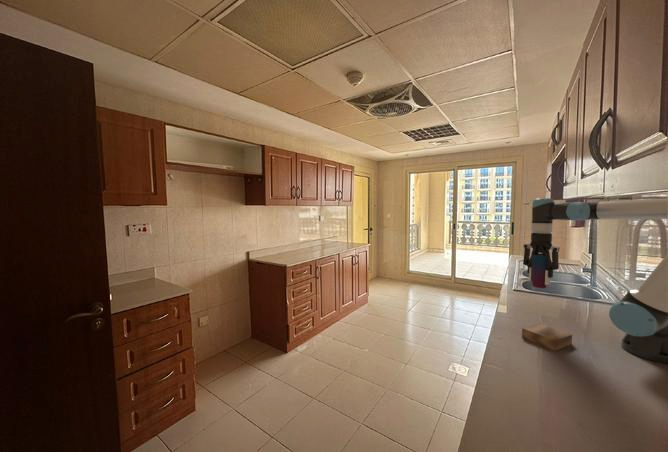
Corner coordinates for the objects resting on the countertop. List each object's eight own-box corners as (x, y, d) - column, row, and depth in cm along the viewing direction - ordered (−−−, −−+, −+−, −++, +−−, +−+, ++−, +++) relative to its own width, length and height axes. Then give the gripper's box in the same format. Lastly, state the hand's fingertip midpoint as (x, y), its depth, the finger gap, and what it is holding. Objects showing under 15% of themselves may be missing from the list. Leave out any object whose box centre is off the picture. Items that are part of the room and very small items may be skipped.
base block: (571, 344, 108) (572, 334, 108) (554, 350, 103) (555, 340, 103) (538, 332, 119) (539, 323, 119) (521, 337, 114) (522, 328, 114)
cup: (542, 284, 126) (543, 253, 125) (552, 289, 120) (553, 255, 119) (526, 284, 127) (528, 253, 126) (535, 288, 120) (537, 255, 119)
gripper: (571, 233, 115) (568, 287, 116) (524, 230, 132) (522, 277, 133) (561, 234, 112) (558, 289, 113) (514, 231, 129) (513, 278, 130)
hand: (539, 282), depth 123 cm, fingers closed on cup, 6 cm apart
